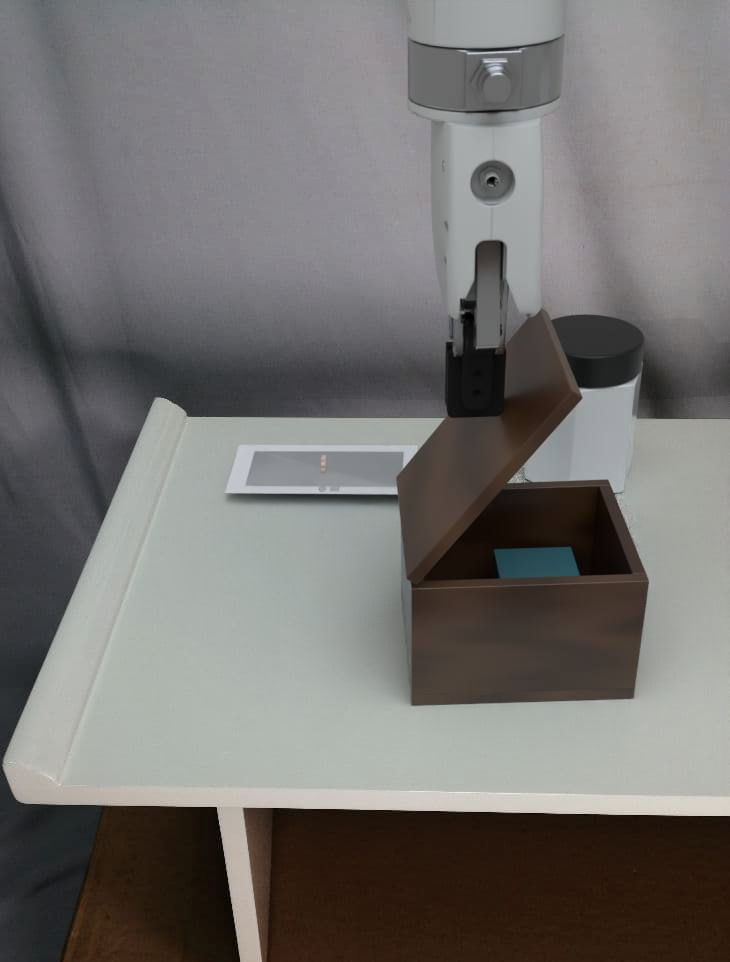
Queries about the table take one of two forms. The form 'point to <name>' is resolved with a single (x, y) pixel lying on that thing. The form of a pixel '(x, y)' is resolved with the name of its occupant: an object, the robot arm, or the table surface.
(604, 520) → the chest
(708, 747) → the table surface
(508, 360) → the lid
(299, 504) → the table surface
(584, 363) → the jar
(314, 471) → the touchpad
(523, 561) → the block
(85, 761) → the table surface
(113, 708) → the table surface
